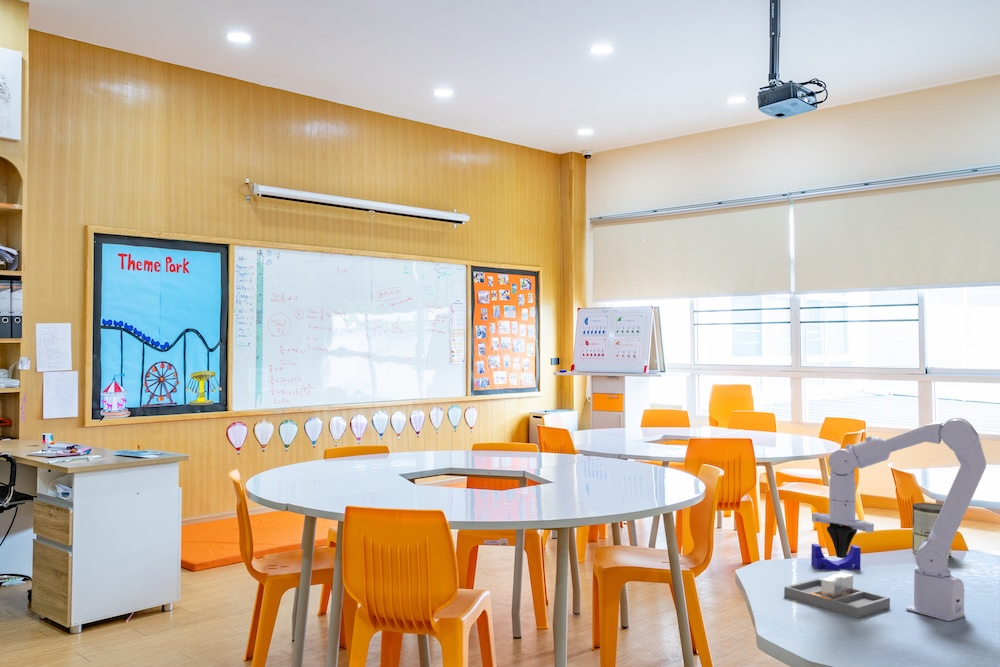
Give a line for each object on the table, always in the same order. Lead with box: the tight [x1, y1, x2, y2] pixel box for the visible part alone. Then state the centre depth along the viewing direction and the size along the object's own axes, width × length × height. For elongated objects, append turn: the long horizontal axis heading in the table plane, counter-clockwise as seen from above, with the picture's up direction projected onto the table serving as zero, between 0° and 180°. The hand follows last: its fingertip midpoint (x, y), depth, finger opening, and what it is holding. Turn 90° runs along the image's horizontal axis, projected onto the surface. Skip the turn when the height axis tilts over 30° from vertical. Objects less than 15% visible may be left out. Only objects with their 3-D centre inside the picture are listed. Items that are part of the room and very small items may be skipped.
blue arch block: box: [810, 543, 862, 571], centre depth 214 cm, size 12×4×6 cm, turn 87°
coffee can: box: [911, 502, 952, 557], centre depth 233 cm, size 10×10×14 cm
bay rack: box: [783, 578, 891, 619], centre depth 183 cm, size 18×14×2 cm
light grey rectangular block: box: [821, 571, 854, 599], centre depth 184 cm, size 3×10×4 cm, turn 133°
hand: (841, 557), depth 188 cm, fingers closed
